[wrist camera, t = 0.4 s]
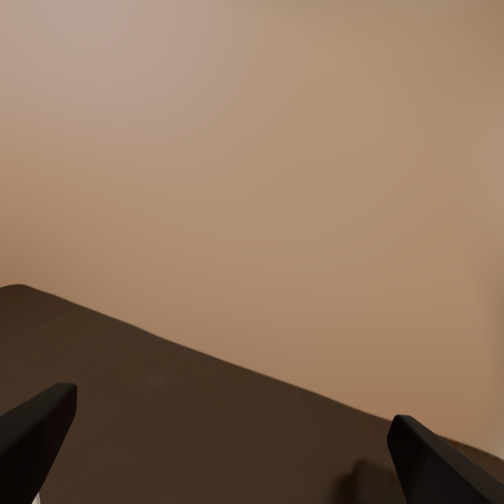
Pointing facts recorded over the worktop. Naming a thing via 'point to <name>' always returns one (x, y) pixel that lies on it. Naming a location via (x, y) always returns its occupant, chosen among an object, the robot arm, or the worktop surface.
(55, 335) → the worktop surface
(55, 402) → the robot arm
